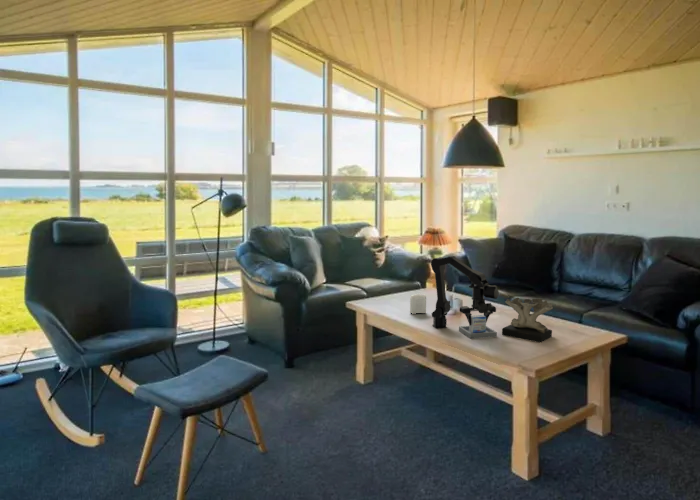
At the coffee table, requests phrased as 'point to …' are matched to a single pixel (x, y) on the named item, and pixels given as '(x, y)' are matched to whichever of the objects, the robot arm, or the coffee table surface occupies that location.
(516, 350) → the coffee table surface
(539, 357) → the coffee table surface
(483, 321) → the medicine box
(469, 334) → the tray
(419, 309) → the photo printer
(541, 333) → the coral
